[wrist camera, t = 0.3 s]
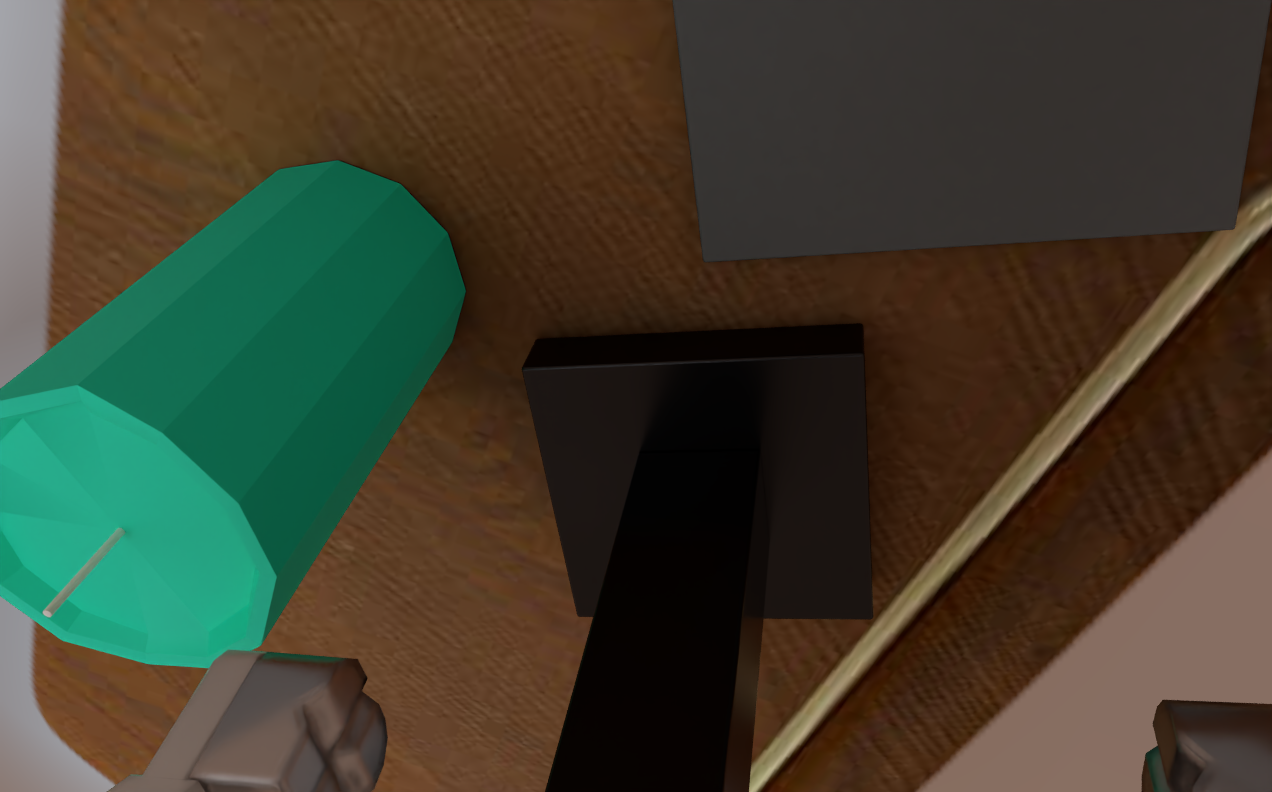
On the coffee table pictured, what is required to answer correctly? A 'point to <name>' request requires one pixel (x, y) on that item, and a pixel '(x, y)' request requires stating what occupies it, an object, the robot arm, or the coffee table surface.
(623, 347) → the stand
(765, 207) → the mat
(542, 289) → the coffee table surface
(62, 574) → the candle
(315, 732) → the robot arm
